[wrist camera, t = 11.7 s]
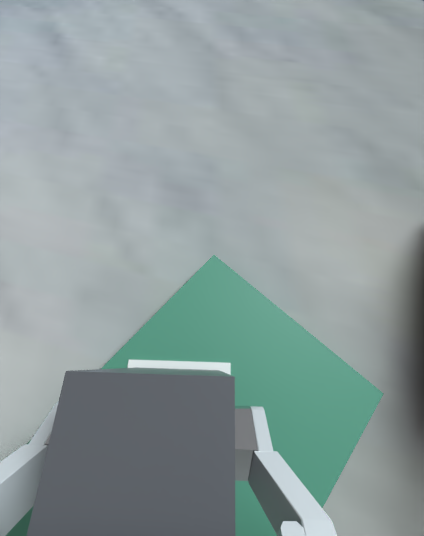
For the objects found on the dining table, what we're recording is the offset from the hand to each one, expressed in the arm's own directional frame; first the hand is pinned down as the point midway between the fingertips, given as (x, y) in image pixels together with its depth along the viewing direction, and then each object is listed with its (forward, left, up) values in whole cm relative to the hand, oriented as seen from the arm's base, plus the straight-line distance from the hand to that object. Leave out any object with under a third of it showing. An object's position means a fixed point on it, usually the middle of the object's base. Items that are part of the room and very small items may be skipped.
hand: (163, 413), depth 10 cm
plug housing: (0, 0, -5) cm, 5 cm away
